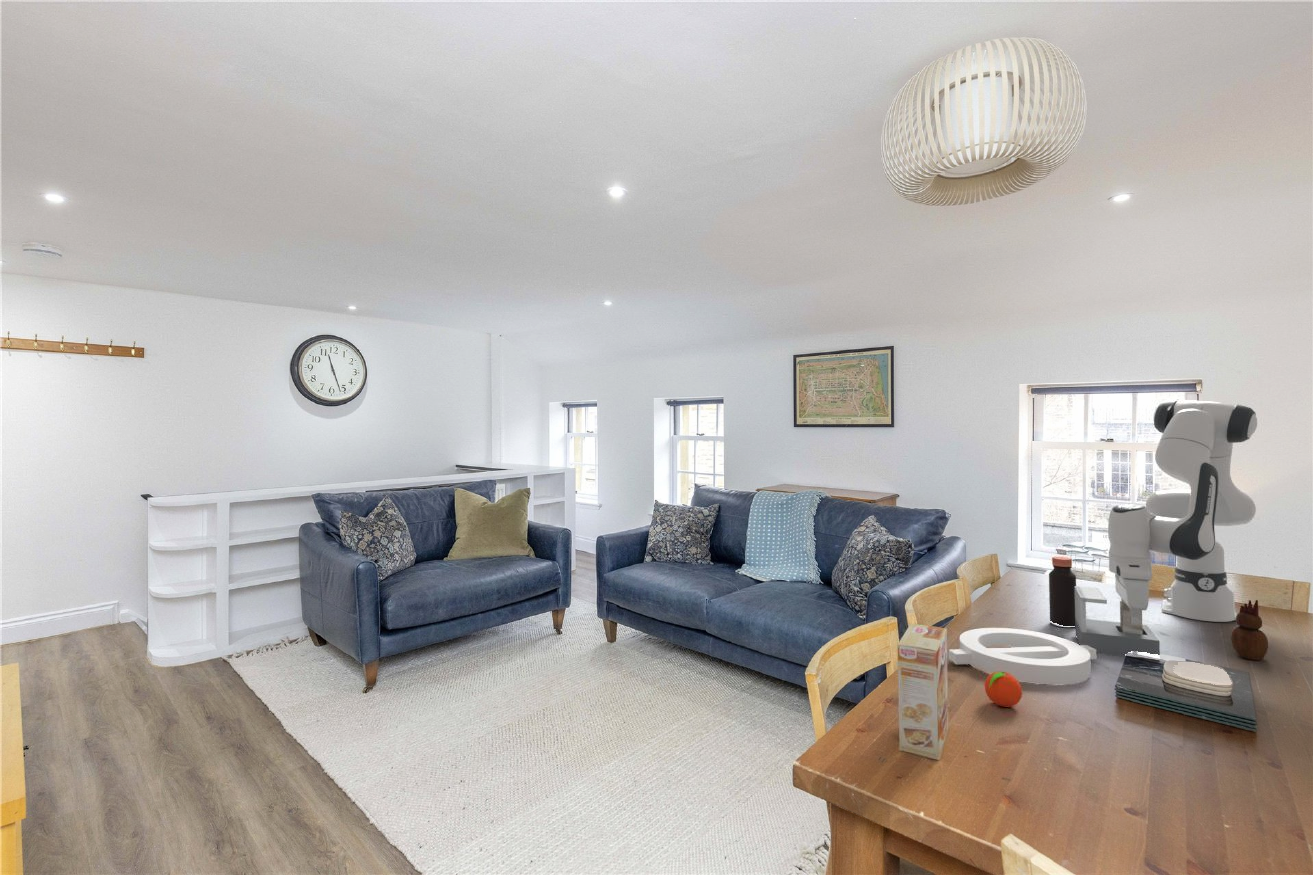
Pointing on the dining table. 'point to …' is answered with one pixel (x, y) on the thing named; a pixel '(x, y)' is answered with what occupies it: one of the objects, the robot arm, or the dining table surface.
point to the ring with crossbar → (1025, 655)
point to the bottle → (1062, 592)
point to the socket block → (1108, 629)
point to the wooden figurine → (1249, 634)
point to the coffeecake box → (923, 690)
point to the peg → (1128, 621)
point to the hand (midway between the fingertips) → (1131, 618)
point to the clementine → (1003, 689)
